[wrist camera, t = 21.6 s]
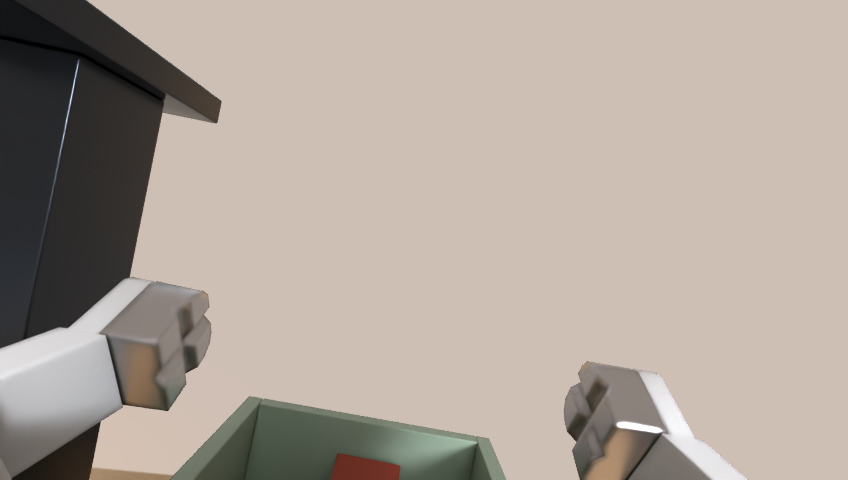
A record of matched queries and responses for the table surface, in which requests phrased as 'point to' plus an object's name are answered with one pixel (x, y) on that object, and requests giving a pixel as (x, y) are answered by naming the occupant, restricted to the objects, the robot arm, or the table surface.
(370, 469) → the red flat bar
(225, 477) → the green open box
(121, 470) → the table surface
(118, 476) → the table surface
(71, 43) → the shelf stand
